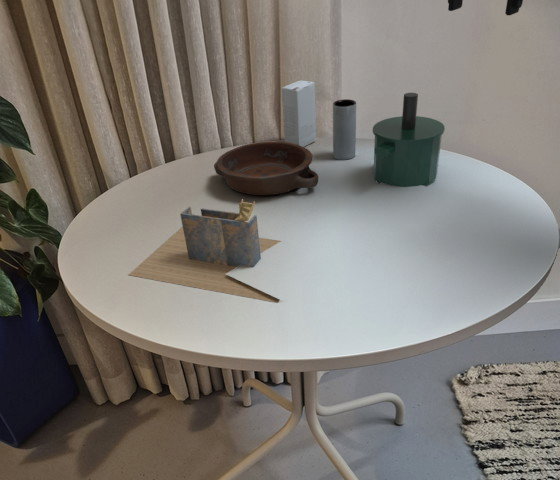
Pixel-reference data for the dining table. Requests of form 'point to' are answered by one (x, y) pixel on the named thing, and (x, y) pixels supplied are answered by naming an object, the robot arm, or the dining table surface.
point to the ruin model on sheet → (210, 252)
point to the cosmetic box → (299, 113)
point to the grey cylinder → (344, 129)
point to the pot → (406, 162)
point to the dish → (267, 168)
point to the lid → (408, 125)
